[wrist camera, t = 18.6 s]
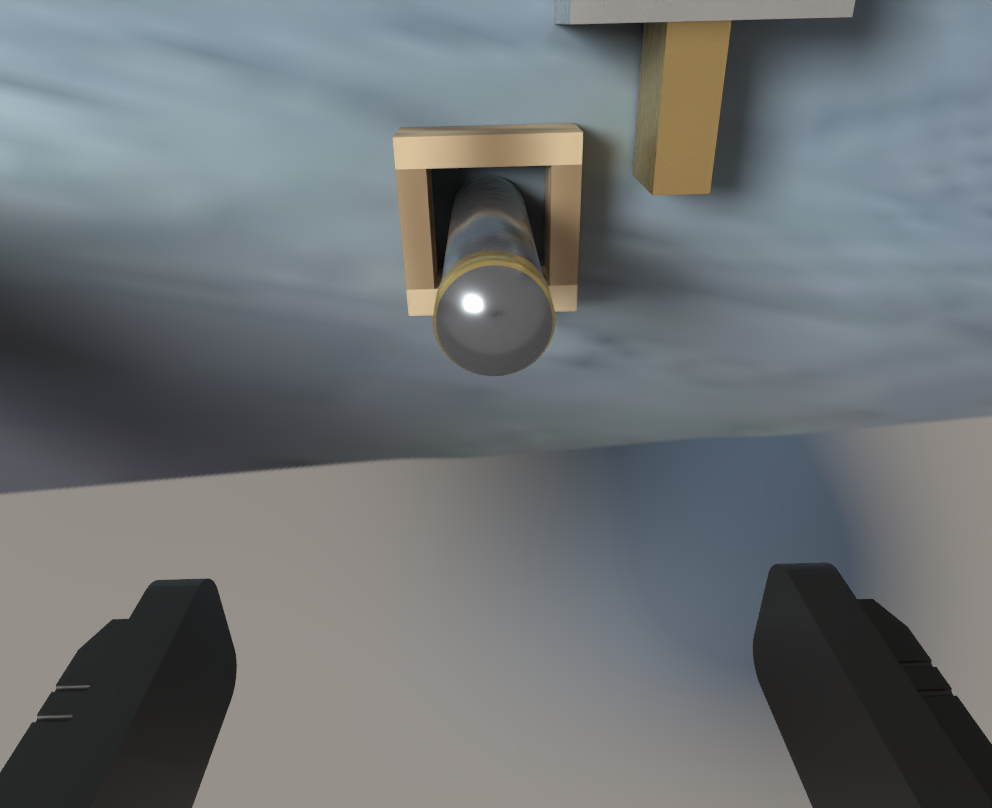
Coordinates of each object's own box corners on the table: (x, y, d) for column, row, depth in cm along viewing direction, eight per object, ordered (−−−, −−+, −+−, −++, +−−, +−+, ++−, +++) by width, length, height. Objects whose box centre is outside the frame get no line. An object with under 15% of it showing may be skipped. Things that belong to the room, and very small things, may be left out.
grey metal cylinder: (451, 252, 34) (436, 380, 22) (447, 174, 33) (428, 265, 20) (528, 250, 34) (554, 376, 22) (528, 171, 33) (556, 262, 20)
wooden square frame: (414, 294, 35) (408, 315, 33) (400, 127, 31) (392, 137, 29) (569, 289, 35) (576, 311, 33) (574, 122, 32) (583, 132, 29)
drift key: (632, 175, 33) (652, 195, 29) (648, -53, 28) (675, -64, 24) (683, 173, 33) (709, 193, 29) (707, -54, 28) (742, -66, 24)
